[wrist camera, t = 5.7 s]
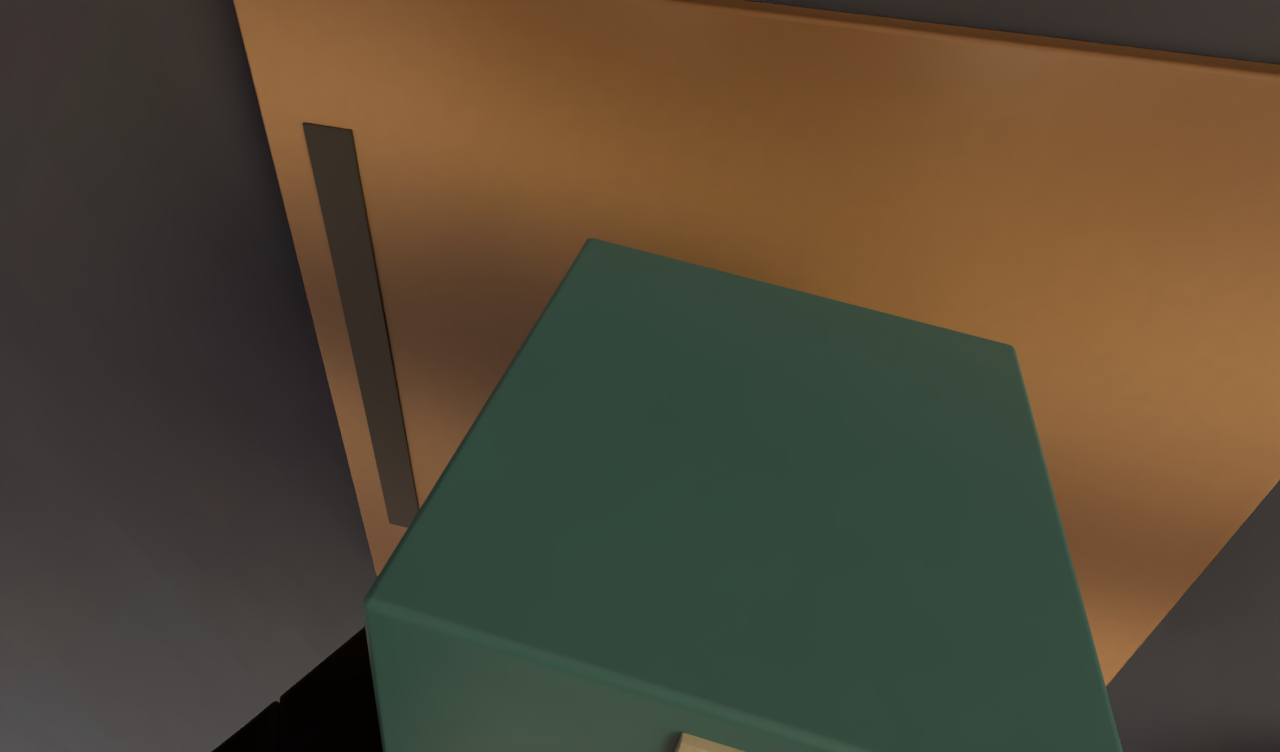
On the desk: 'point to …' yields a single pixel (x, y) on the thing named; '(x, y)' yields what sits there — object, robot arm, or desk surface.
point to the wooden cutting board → (800, 227)
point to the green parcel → (738, 539)
